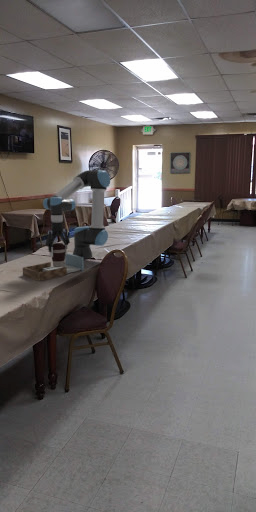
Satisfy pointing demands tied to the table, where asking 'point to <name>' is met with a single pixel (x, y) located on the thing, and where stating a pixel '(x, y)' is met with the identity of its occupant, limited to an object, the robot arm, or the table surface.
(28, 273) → the brown wooden frame
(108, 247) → the table surface
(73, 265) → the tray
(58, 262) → the coffee cup
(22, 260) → the table surface
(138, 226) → the table surface
